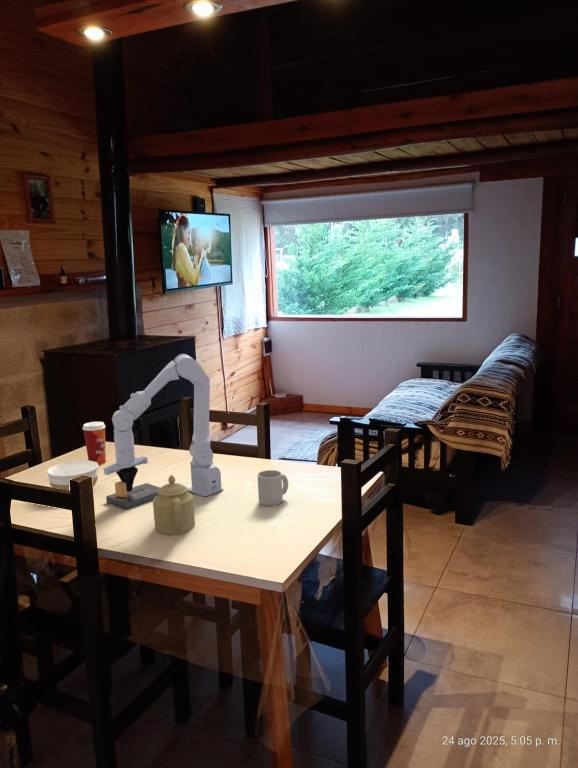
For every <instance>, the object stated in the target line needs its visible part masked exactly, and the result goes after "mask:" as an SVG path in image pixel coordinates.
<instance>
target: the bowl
mask: <svg viewBox="0 0 578 768" xmlns="http://www.w3.org/2000/svg"><path fill="white" fill-rule="evenodd" d="M98 468H99V465H98V464H97V463H96V462H93V461H88V460H87V459H85V460H84V459H83V460H70V461H64V462H61V463H58V464H55V465H52V466H50V467H49V468H47V471H46V473H47V475H48V483H49V485H50V487H51V488H52V487H53V488H59V489H64V490H68V491H69V480H70V479H73V478H76V477H78V476H82V475H86V476H91V477H92V479H93V487H94V486H95V484H96V483H97V481H98V477H99V471H98ZM53 488H52V489H53Z"/></svg>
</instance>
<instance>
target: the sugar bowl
mask: <svg viewBox="0 0 578 768" xmlns="http://www.w3.org/2000/svg"><path fill="white" fill-rule="evenodd" d="M167 481H168V483H166V484H163V485H162V486H161V487H160V489H158V490H157V493H158V496H156V497H155V498H154V499H153V500H152V507H153V518H154V519H153V520H154V528H155V531H156V532H157V533H159V534H162V535H179V534H184V533H186V532H189V531H191V530H192V529H193V528H194V527H195V525H196V522H195V521H196V519H195V517H196V516H195V504H194V496H193V494H192V492H189V491H187V490H188V488H189V487H187V486H185V485H183V484H181V483H177V482H176V478H175V476H174V475H173V474H171V475H170V476H169V477H168V480H167Z"/></svg>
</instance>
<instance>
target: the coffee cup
mask: <svg viewBox="0 0 578 768" xmlns="http://www.w3.org/2000/svg"><path fill="white" fill-rule="evenodd" d="M81 429H82V430H83V435H84V442H85V447H86V453H87V461H93V462H96V463H97V464H98V466H101V465H104V464H106V462H107V461H106V459H107V456H106V424H105V423H104V421H90V422H86V423H84V424H83V426H82V428H81Z"/></svg>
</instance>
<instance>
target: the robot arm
mask: <svg viewBox="0 0 578 768" xmlns="http://www.w3.org/2000/svg"><path fill="white" fill-rule="evenodd" d="M179 376H180V377H182V378H184V379H185V380H188V381H189V382H190V383H191V384H192V385H193V434H192V438H191V439H192V441H191V443H190V446H189V449H188V450H189V455H190V456H191V457H192V459H191V461H190V462H189V463H190V480H191V487H187V488H188V490H187V492H189V493H193V494H196V495H199V496H202V497H208V496H210V495H213V494H215V493H219V492H221V491H223V490H224V488H223V487H222V478H221V477H222V476H221V474H222V473H221V469H220V468H218V467H217V466H215V463H214V453H213V450H212V449H211V439H210V438H211V437H210V397H211V396H210V394H211V393H210V392H211V391H210V390H211V389H210V387H211V382H210V378H209V376H208V375H207V373H206V372H205V370H204V368H203V367H202V366H201V364H200V363H199V362H197V360H195V359H194V358H193V357H191V356H190V355H188V354H186V353H180V354H178V355H177V356H175V358H174V359H173V360H171V361H170V362H169V363H168V364H166V365H165V367H164V368H163V369H162V370H161V371H160V372H159V373H158V374H157V375H156V377H154V379H152V380H151V382H150V383H149V384H148V385H147V386H146V387H145V389H144V390H141V391H140V390H139V391H136V392H135V393H134V392H132V393H131V394H130V395H129V396H130V398H129V399H128V400H127V401H126V402H125V403H124V404H123V405H120V406H119V410H116V411H114V413H113V415H112V418H111V421H112V425H113V428H114V429H113V441H114V450H115V452H114V453H115V462H114V463H112V464H110V465H108V466H106V467H103V474H104V475H106V476H109V475H111V474H114V473H115V474H116V475H117V476H118V478H119V479H120V481H121V482H124V483H126V490H127V492H130V491H132V488H133V487H134V486H133V485H134V482H135V478H136V476H137V473H138V472H139V469H138V467H137V466H140V465H144V464H148V457H147V456H141V457H140V456H139V457H136V453H135V450H136V449H135V442H134V441H135V440H134V433H133V431H132V430H133V426H134V421H135V420H137V419H139V417H140V416H141V415H142V414H143V413H144V412H145V411H146V410H147V409H148V408H149V407H150V406H151V404H152V401H151V400H152V398H153V397H154V396H155V395H156V394H157V393H159V391H160V390H161V389H163V388H164V387H165V386H166V385H167V384H168V383H169V382H170V381H176V380H180V377H179Z"/></svg>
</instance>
